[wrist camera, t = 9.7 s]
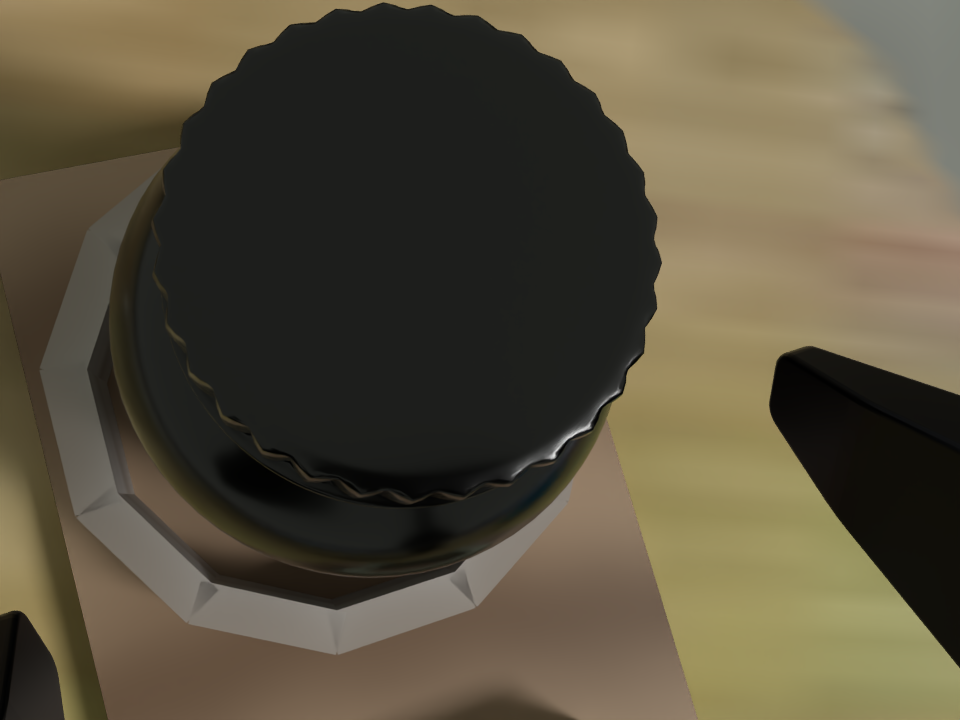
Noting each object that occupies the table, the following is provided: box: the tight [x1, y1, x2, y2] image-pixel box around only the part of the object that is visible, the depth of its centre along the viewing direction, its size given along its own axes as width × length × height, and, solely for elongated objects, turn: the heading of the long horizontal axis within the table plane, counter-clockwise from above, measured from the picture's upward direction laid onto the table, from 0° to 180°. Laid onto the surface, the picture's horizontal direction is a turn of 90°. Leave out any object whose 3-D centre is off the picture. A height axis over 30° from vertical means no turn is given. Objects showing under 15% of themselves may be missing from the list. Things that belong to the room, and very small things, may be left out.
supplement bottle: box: [109, 2, 662, 578], centre depth 14 cm, size 7×7×12 cm
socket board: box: [0, 147, 698, 720], centre depth 19 cm, size 24×12×3 cm, turn 17°
